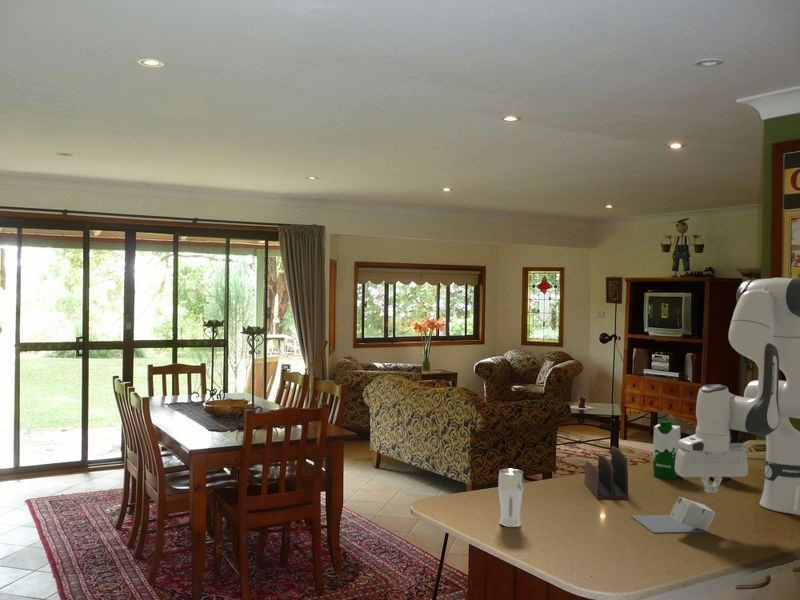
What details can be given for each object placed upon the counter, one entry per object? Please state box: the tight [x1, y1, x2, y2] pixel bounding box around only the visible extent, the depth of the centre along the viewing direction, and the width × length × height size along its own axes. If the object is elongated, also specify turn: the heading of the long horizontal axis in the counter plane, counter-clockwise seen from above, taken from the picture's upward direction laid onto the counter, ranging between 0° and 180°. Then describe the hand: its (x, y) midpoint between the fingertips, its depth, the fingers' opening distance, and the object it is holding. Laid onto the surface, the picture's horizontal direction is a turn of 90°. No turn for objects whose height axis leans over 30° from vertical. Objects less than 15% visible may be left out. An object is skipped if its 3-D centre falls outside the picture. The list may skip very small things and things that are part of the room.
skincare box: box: [669, 496, 716, 531], centre depth 202 cm, size 6×4×12 cm
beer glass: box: [497, 468, 524, 527], centre depth 206 cm, size 7×7×15 cm
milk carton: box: [652, 419, 682, 480], centre depth 266 cm, size 9×9×20 cm
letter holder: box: [583, 445, 629, 501], centre depth 244 cm, size 10×20×14 cm, turn 177°
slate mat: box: [630, 514, 707, 534], centre depth 209 cm, size 15×15×1 cm
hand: (710, 492), depth 207 cm, fingers closed
